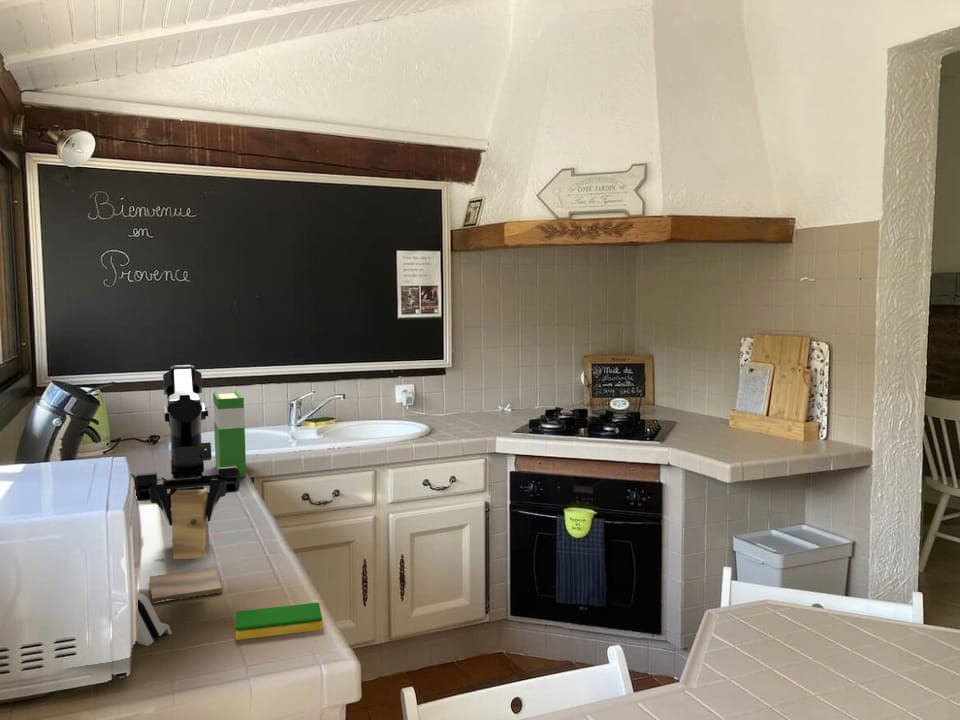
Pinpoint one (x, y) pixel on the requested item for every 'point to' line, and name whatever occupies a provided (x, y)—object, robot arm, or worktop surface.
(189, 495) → the wooden block
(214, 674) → the worktop surface
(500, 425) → the worktop surface
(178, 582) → the base board
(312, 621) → the dish sponge
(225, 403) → the carton
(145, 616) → the grey angled piece
